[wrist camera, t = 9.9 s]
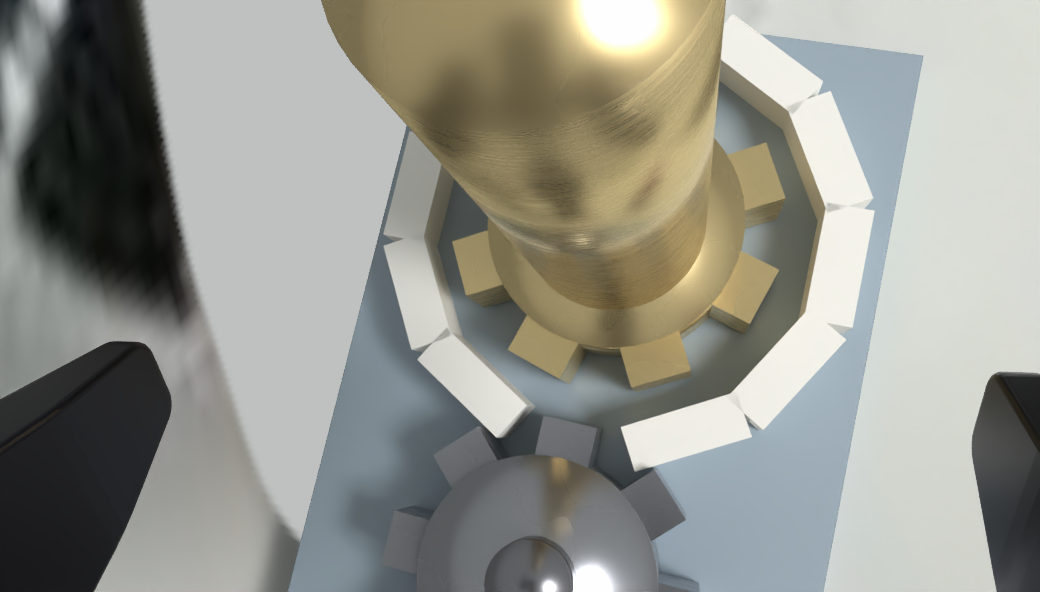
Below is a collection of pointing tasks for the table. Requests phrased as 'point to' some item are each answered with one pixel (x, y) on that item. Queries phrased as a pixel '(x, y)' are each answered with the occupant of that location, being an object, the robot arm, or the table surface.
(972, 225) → the table surface
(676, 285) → the brass gear
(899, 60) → the gear board
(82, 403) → the robot arm
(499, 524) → the fixed gear
